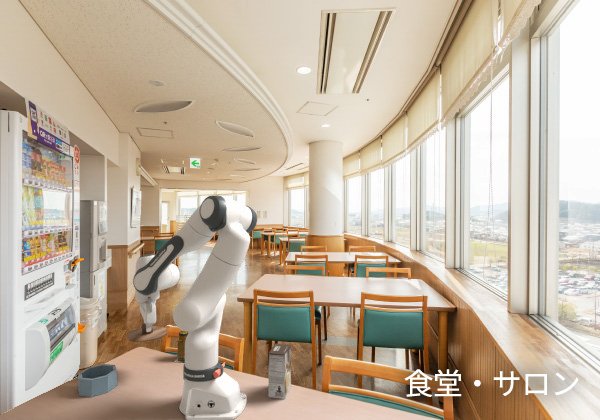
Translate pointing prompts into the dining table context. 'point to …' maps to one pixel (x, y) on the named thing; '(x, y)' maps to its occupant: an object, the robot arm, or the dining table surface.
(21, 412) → the dining table surface
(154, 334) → the lid
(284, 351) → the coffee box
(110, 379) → the bowl
